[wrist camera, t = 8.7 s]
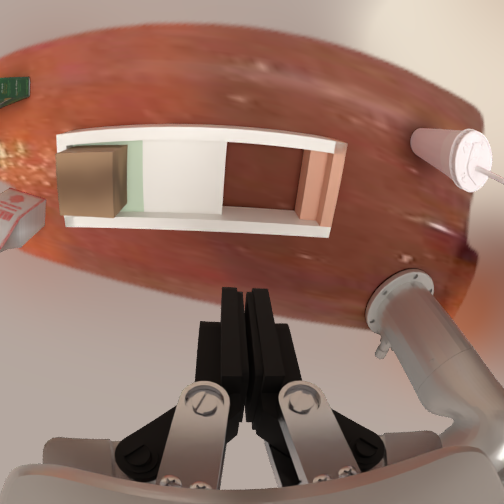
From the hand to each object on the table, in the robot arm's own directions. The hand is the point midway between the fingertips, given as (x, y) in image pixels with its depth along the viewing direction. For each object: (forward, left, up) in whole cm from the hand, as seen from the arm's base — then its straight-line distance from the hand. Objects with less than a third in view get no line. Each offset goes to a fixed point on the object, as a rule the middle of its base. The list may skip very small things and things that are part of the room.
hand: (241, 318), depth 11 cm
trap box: (+1, +4, -21) cm, 21 cm away
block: (+1, +13, -19) cm, 23 cm away
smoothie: (+8, -22, -21) cm, 32 cm away
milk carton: (-3, +27, -21) cm, 34 cm away
